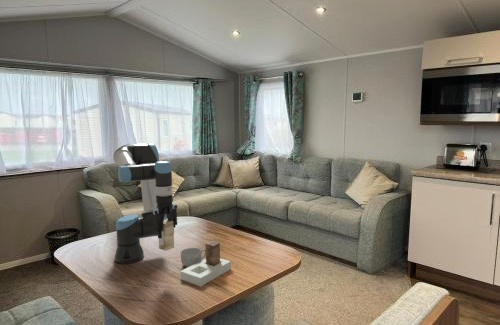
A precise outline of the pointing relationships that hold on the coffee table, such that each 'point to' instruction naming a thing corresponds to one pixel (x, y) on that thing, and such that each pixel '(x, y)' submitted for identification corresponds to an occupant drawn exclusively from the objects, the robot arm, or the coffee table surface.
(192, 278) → the bore block
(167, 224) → the pin
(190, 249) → the teacup
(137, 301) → the coffee table surface
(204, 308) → the coffee table surface
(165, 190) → the robot arm
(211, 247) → the walnut pin
